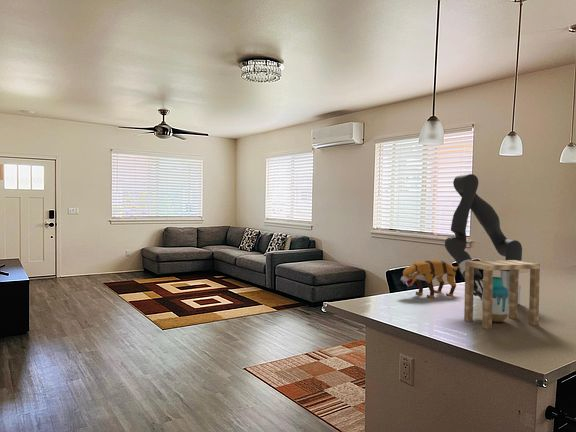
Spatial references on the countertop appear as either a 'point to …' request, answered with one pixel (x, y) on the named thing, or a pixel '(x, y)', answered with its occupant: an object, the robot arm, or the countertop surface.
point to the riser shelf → (513, 289)
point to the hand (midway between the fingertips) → (486, 302)
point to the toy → (430, 275)
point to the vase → (499, 300)
